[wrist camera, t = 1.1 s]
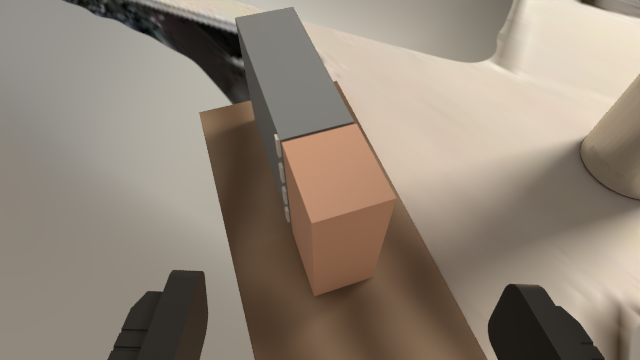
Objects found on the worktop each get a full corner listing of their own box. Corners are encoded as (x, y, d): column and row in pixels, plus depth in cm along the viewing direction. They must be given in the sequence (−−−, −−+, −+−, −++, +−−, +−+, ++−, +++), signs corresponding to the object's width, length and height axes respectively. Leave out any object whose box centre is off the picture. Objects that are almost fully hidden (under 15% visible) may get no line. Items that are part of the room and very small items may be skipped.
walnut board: (336, 90, 47) (336, 80, 45) (482, 366, 29) (489, 362, 28) (202, 122, 44) (199, 112, 43) (277, 449, 26) (275, 449, 25)
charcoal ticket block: (299, 109, 43) (293, 7, 33) (344, 213, 35) (354, 121, 25) (252, 120, 42) (232, 18, 32) (289, 230, 34) (276, 140, 24)
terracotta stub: (346, 216, 35) (356, 123, 25) (372, 277, 32) (396, 198, 22) (292, 232, 34) (281, 142, 24) (314, 296, 31) (311, 223, 21)
